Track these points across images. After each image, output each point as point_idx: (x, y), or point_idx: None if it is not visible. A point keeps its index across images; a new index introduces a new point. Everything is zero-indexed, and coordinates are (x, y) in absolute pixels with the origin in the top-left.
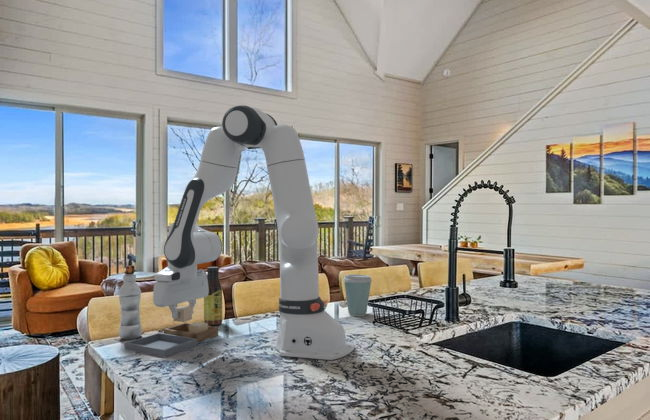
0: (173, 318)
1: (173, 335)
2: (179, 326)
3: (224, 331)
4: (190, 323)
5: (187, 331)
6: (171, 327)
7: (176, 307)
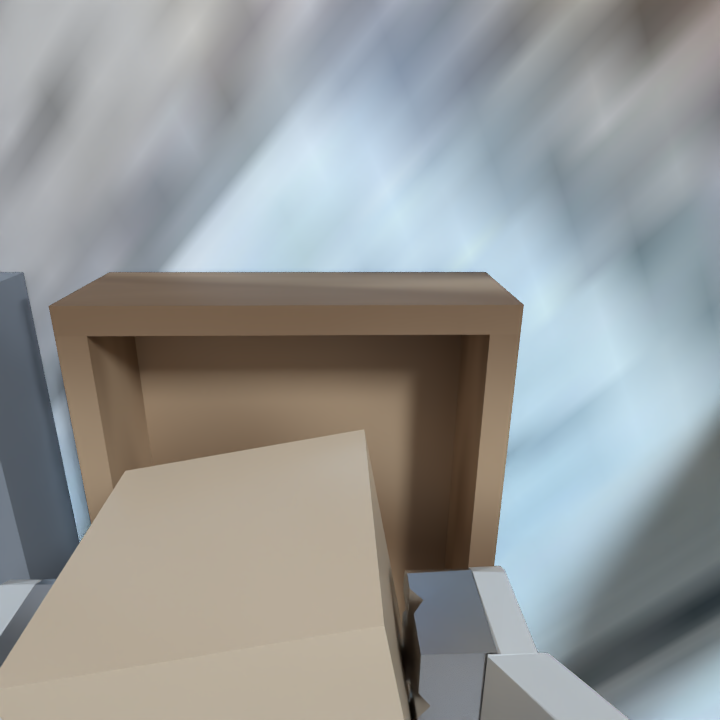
0: (106, 501)
1: (13, 571)
2: (359, 327)
3: (641, 622)
4: (508, 411)
5: (441, 354)
6: (188, 334)
7: (127, 676)
